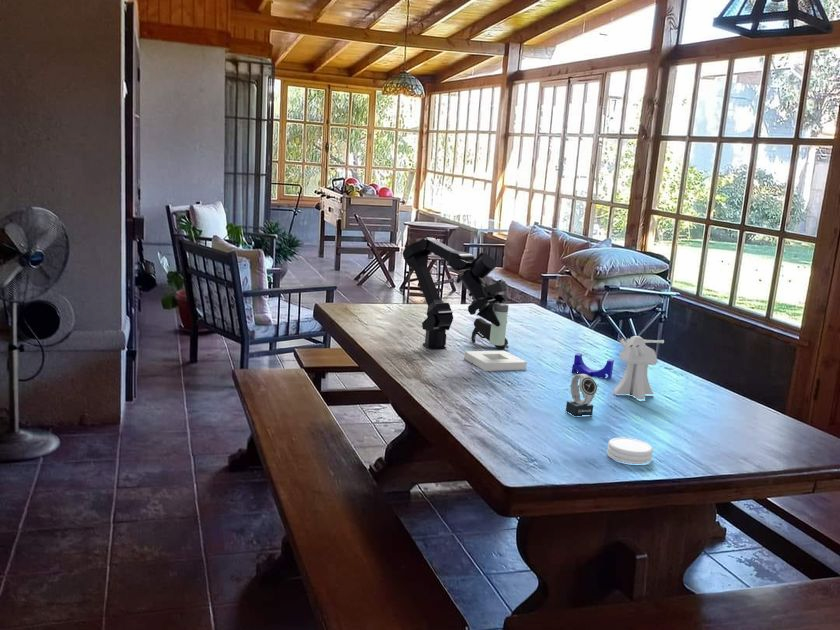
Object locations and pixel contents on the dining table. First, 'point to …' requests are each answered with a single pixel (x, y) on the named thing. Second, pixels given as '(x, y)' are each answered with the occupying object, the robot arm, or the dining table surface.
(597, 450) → the dining table surface
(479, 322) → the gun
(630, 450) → the coaster
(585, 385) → the watch
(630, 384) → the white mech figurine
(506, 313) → the capped bottle
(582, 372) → the blue cradle stand
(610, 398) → the dining table surface
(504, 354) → the housing
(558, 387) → the dining table surface
